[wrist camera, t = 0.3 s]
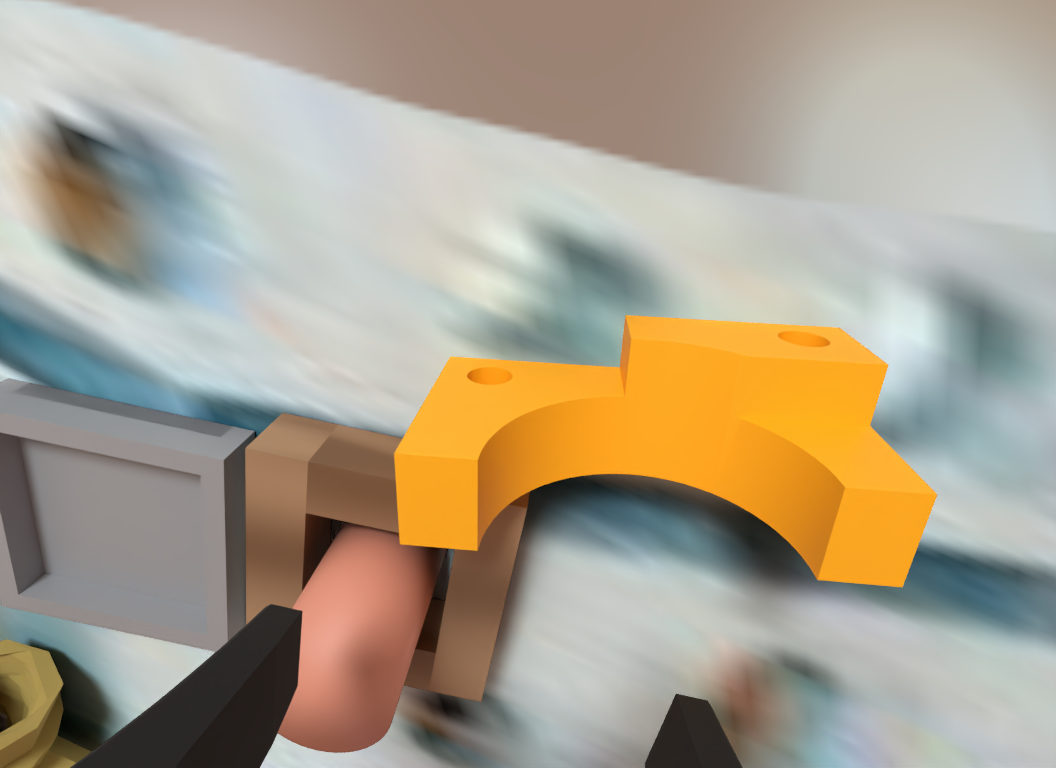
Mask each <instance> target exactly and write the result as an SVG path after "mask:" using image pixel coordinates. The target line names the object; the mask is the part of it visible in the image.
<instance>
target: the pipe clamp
mask: <svg viewBox="0 0 1056 768" xmlns="http://www.w3.org/2000/svg"><path fill="white" fill-rule="evenodd" d="M887 368H888V364H886V363H885V362H884V361H883V360H881V359H880V358H879V357H877V356H876V355H875V354H873V353H872V352H871V351H869V350H868V349H867V348H865V347H864V346H863V345H861V344H860V343H859V342H857V341H856V340H855V339H853V338H852V337H851V336H850V335H848V334H847V333H846V332H844V331H843V330H842V329H840V328H833V327H816V326H799V325H782V324H765V323H748V322H731V321H714V320H697V319H680V318H663V317H646V316H629V315H626V316H625V325H624V334H623V343H622V353H621V362H620V368H618V367H603V366H587V365H572V364H556V363H541V362H525V361H510V360H494V359H479V358H463V357H450V358H449V360H448V362H447V363H446V365H445V367H444V369H443V370H442V372H441V374H440V375H439V377H438V379H437V381H436V382H435V384H434V386H433V387H432V389H431V391H430V393H429V394H428V396H427V398H426V399H425V401H424V403H423V405H422V406H421V408H420V410H419V412H418V413H417V415H416V417H415V418H414V420H413V422H412V424H411V425H410V427H409V429H408V430H407V432H406V434H405V436H404V437H403V439H402V441H401V442H400V444H399V446H398V448H397V449H396V451H395V453H394V461H395V476H396V492H397V508H398V523H399V539H400V544H402V545H414V546H426V547H438V548H449V549H461V550H473V551H478V548H479V545H480V542H481V539H482V537H483V535H484V533H485V531H486V529H487V528H488V526H489V525H490V523H491V522H492V521H493V519H494V518H495V517H496V516H497V515H498V514H499V513H500V512H501V511H502V510H503V509H504V508H505V507H506V506H508V505H509V504H510V503H511V502H513V501H514V500H516V499H517V498H519V497H520V496H522V495H524V494H526V493H528V492H529V491H531V490H534V489H536V488H538V487H541V486H543V485H546V484H549V483H552V482H555V481H559V480H563V479H567V478H572V477H578V476H585V475H594V474H630V475H641V476H649V477H655V478H661V479H666V480H670V481H674V482H679V483H683V484H686V485H689V486H692V487H696V488H699V489H701V490H704V491H707V492H709V493H712V494H714V495H717V496H719V497H721V498H724V499H726V500H728V501H730V502H732V503H734V504H736V505H738V506H740V507H741V508H743V509H745V510H747V511H748V512H750V513H752V514H753V515H755V516H756V517H758V518H759V519H761V520H762V521H764V522H765V523H767V524H768V525H769V526H770V527H772V528H773V529H774V530H775V531H777V532H778V533H779V534H780V535H781V536H782V537H784V538H785V539H786V540H787V541H788V542H789V543H790V544H791V545H792V546H793V547H794V548H795V549H796V551H797V552H798V553H799V554H800V555H801V556H802V558H803V559H804V560H805V561H806V563H807V564H808V565H809V567H810V568H811V570H812V572H813V573H814V575H815V577H816V578H817V580H825V581H836V582H848V583H860V584H871V585H883V586H895V587H903V584H904V581H905V579H906V576H907V573H908V571H909V568H910V565H911V563H912V560H913V558H914V555H915V552H916V550H917V547H918V544H919V542H920V539H921V536H922V534H923V531H924V528H925V526H926V523H927V520H928V518H929V515H930V513H931V510H932V507H933V505H934V502H935V499H936V497H937V494H936V493H935V492H934V491H933V490H932V489H931V488H930V487H929V486H928V485H927V484H926V483H925V482H924V481H923V480H922V479H921V477H920V476H919V475H918V474H917V473H916V472H915V471H914V470H913V469H912V468H911V467H910V466H909V465H908V464H907V463H906V462H905V461H904V460H903V459H902V458H901V457H900V456H899V455H898V454H897V453H896V452H895V451H894V450H893V449H892V448H891V447H890V446H889V445H888V444H887V443H886V442H885V441H884V440H883V439H882V438H881V437H880V436H879V435H878V434H877V433H876V432H875V431H874V430H873V429H872V428H871V427H870V423H871V420H872V417H873V414H874V410H875V407H876V404H877V400H878V397H879V394H880V391H881V387H882V384H883V381H884V378H885V374H886V371H887Z"/></svg>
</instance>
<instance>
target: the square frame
mask: <svg viewBox="0 0 1056 768" xmlns="http://www.w3.org/2000/svg"><path fill="white" fill-rule="evenodd" d="M402 439H403V438H399V437H394V436H389V435H385V434H380V433H375V432H371V431H366V430H361V429H357V428H352V427H347V426H343V425H338V424H333V423H329V422H324V421H319V420H315V419H310V418H305V417H301V416H296V415H291V414H287V413H282V414H281V415H280V416H279V417H278V418H277V419H276V420H275V421H274V422H272V423H271V424H270V425H269V426H268V427H267V428H266V429H265V430H264V431H263V432H262V433H261V434H260V435H259V436H258V437H257V438H256V439H255V440H253V441H252V442H251V443H250V444H249V445H248V446H247V447H246V448H245V478H246V624H248V623H249V622H250V621H251V620H252V619H253V618H254V617H255V616H256V615H257V614H258V613H259V612H260V611H261V610H263V609H264V608H265V607H266V606H268V605H270V604H274V605H278V606H283V607H287V608H293V606H294V604H295V603H296V601H297V599H298V598H299V596H300V595H301V593H302V591H303V590H304V588H305V586H306V585H307V583H308V581H309V580H310V578H311V576H312V575H313V573H314V571H315V570H316V568H317V566H318V565H319V563H320V562H321V560H322V558H323V557H324V555H325V553H326V552H327V550H328V548H329V547H330V539H331V524H332V519H336V520H340V521H345V522H350V523H354V524H359V525H364V526H369V527H373V528H378V529H383V530H387V531H392V532H397V533H399V523H398V508H397V492H396V476H395V461H394V453H395V451H396V449H397V448H398V446H399V444H400V442H401V441H402ZM529 493H530V491H529V492H528V493H526V494H524V495H522V496H520V497H519V498H517V499H516V500H514V501H513V502H511V503H510V504H509V505H508V506H506V507H505V508H504V509H503V510H502V511H501V512H500V513H499V514H498V515H497V516H496V517H495V518H494V519H493V521H492V522H491V523H490V525H489V526H488V528H487V529H486V531H485V533H484V535H483V537H482V539H481V542H480V545H479V548H478V551H473V550H461V549H455V551H454V557H453V562H452V568H451V573H450V579H449V584H448V590H447V595H446V601H443V600H438V599H434V598H431V601H430V604H429V607H428V611H427V614H426V617H425V620H424V623H423V626H422V629H421V632H420V635H419V639H418V642H417V645H416V648H415V651H414V654H413V657H412V660H411V663H410V667H409V670H408V673H407V676H406V679H405V682H404V686H409V687H413V688H418V689H423V690H427V691H432V692H437V693H442V694H446V695H451V696H456V697H460V698H465V699H470V700H474V701H479V702H481V701H482V696H483V692H484V688H485V684H486V680H487V675H488V671H489V667H490V663H491V659H492V654H493V650H494V646H495V642H496V638H497V634H498V629H499V625H500V621H501V617H502V613H503V608H504V604H505V600H506V596H507V592H508V587H509V583H510V579H511V575H512V571H513V567H514V562H515V558H516V554H517V550H518V546H519V541H520V537H521V533H522V529H523V525H524V520H525V516H526V512H527V507H528V500H529Z"/></svg>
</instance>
